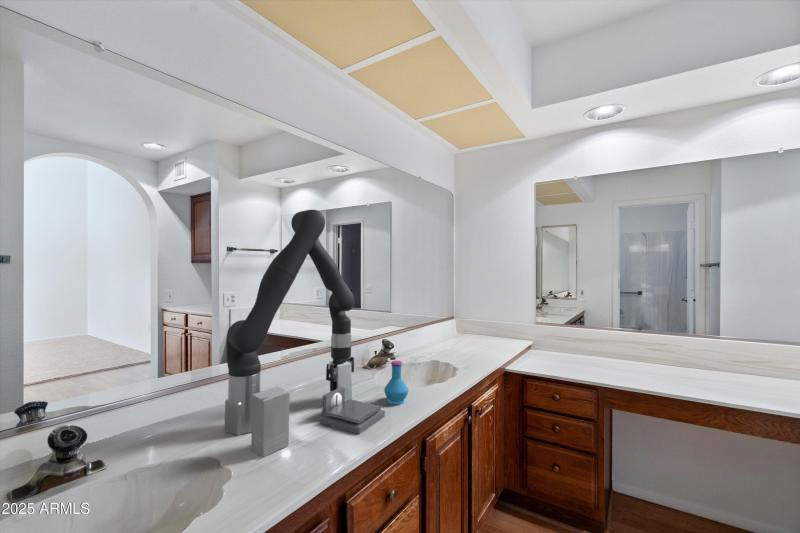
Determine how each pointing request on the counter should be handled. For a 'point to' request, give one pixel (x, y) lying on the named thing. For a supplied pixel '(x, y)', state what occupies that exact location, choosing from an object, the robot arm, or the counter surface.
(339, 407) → the pan
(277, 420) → the skincare box
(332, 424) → the scale base
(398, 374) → the perfume bottle
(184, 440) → the counter surface
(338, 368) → the skincare box
